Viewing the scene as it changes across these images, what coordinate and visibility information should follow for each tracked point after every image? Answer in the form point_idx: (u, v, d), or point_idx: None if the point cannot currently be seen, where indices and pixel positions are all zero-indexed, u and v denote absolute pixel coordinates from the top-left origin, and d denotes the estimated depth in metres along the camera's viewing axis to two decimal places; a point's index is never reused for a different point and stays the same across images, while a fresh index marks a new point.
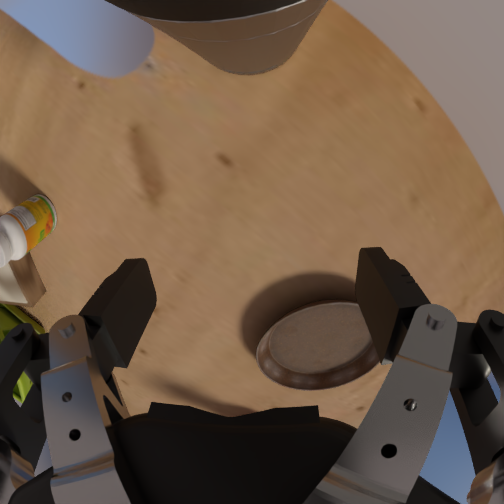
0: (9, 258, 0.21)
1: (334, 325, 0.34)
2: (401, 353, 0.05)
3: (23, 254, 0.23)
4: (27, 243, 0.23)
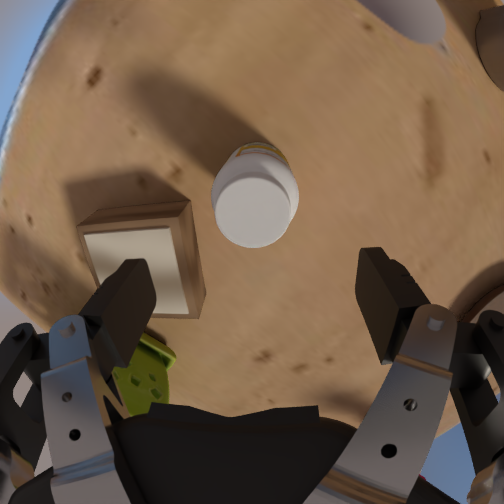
0: None
1: (501, 307, 0.29)
2: (401, 353, 0.05)
3: None
4: None
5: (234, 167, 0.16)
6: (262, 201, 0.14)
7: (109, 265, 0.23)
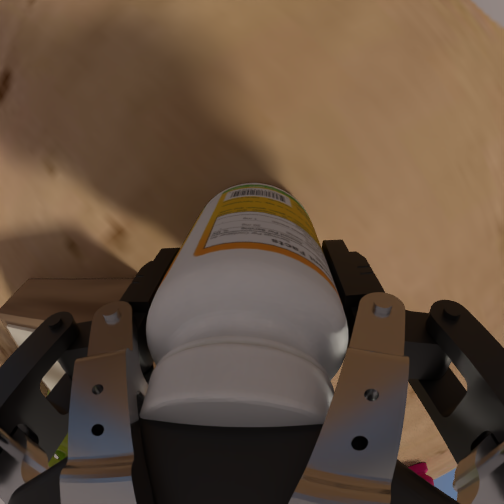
0: None
1: None
2: (352, 345, 0.05)
3: None
4: None
5: (185, 302, 0.06)
6: None
7: None
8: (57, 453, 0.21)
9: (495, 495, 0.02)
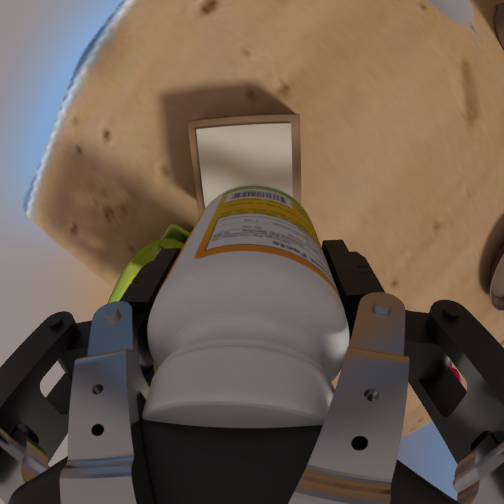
0: None
1: None
2: (352, 345, 0.05)
3: None
4: None
5: (187, 305, 0.06)
6: None
7: (219, 160, 0.25)
8: None
9: (494, 495, 0.02)
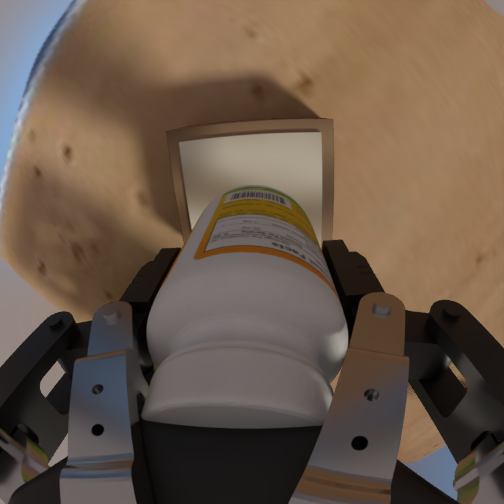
0: None
1: None
2: (352, 345, 0.05)
3: None
4: None
5: (186, 306, 0.06)
6: None
7: (214, 188, 0.17)
8: None
9: (495, 495, 0.02)
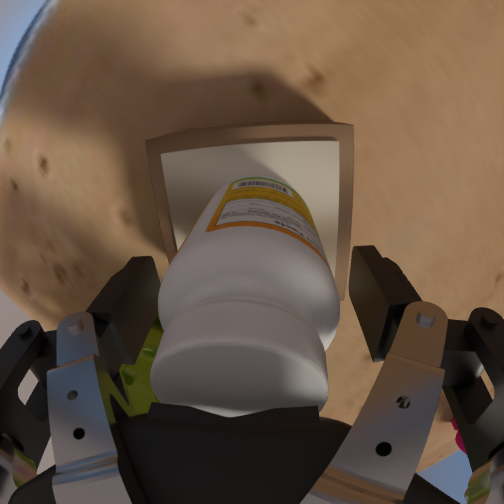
0: None
1: None
2: (392, 351, 0.05)
3: None
4: None
5: (198, 269, 0.07)
6: (261, 385, 0.05)
7: None
8: None
9: None
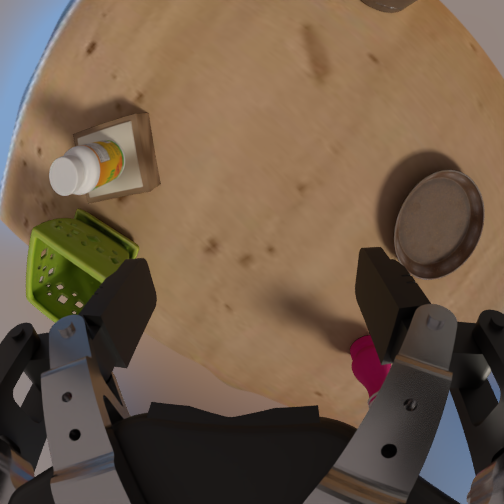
0: (79, 185, 0.24)
1: (445, 204, 0.35)
2: (401, 353, 0.05)
3: (92, 187, 0.26)
4: (100, 175, 0.26)
5: (65, 155, 0.24)
6: (65, 169, 0.22)
7: None
8: (64, 284, 0.38)
9: None
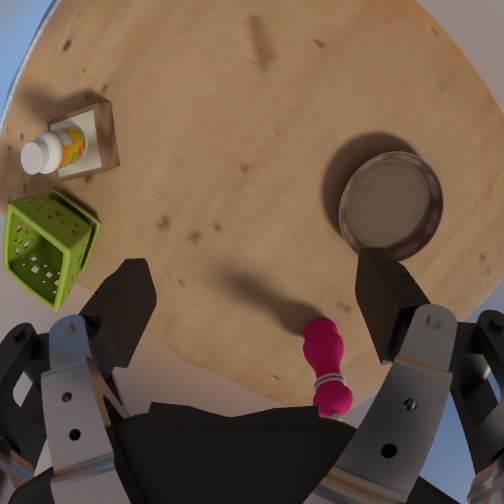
0: (44, 165, 0.25)
1: (398, 187, 0.38)
2: (401, 353, 0.05)
3: (55, 167, 0.27)
4: (62, 157, 0.27)
5: (35, 140, 0.25)
6: (32, 152, 0.23)
7: None
8: (37, 256, 0.40)
9: None
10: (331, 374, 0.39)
